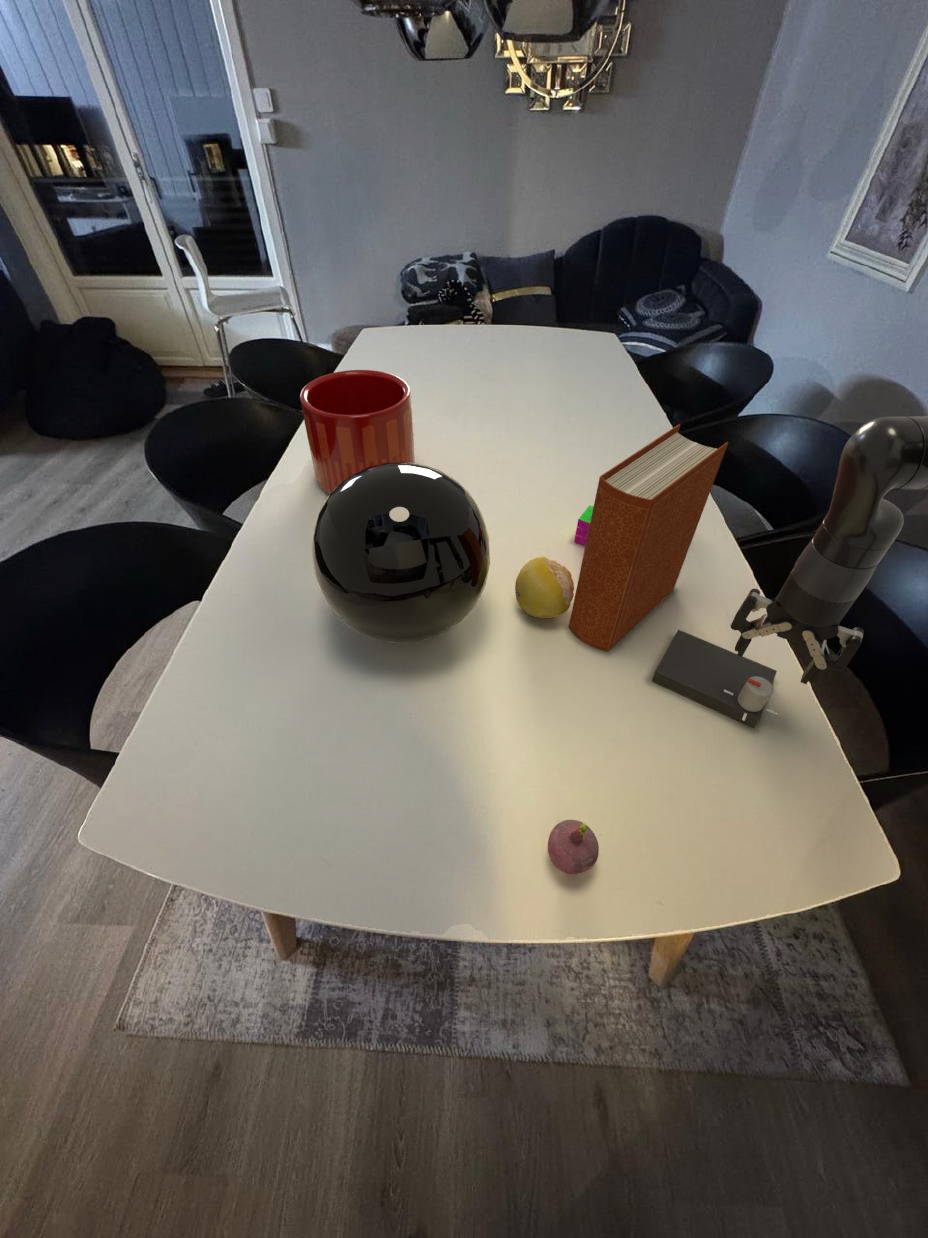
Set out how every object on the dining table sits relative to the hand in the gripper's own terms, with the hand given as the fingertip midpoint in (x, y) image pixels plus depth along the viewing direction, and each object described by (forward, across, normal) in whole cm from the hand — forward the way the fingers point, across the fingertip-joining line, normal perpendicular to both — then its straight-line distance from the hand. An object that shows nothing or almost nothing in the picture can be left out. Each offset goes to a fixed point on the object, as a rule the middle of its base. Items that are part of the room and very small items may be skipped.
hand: (771, 665), depth 79 cm
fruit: (+11, -36, +3) cm, 38 cm away
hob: (+11, -5, +3) cm, 12 cm away
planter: (+12, -91, +19) cm, 94 cm away
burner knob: (+9, 0, 0) cm, 9 cm away
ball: (+12, -55, -12) cm, 58 cm away
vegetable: (+11, -12, -35) cm, 39 cm away
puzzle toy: (+12, -37, +27) cm, 47 cm away
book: (+11, -24, +11) cm, 29 cm away
